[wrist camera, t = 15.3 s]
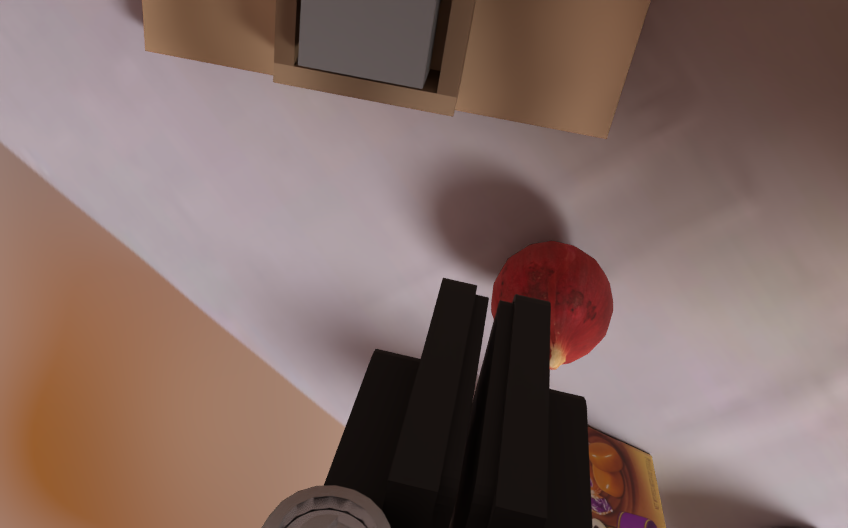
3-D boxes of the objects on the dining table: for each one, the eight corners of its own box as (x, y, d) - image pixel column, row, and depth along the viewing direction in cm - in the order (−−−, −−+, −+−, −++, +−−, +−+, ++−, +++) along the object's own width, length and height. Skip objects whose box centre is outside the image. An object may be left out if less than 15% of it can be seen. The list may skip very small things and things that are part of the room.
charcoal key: (450, -58, 25) (443, -48, 23) (429, 70, 28) (422, 88, 26) (322, -82, 25) (304, -74, 23) (314, 48, 28) (297, 65, 26)
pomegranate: (482, 226, 36) (472, 318, 29) (594, 203, 34) (610, 294, 27) (508, 315, 38) (504, 417, 32) (613, 297, 37) (632, 400, 30)
